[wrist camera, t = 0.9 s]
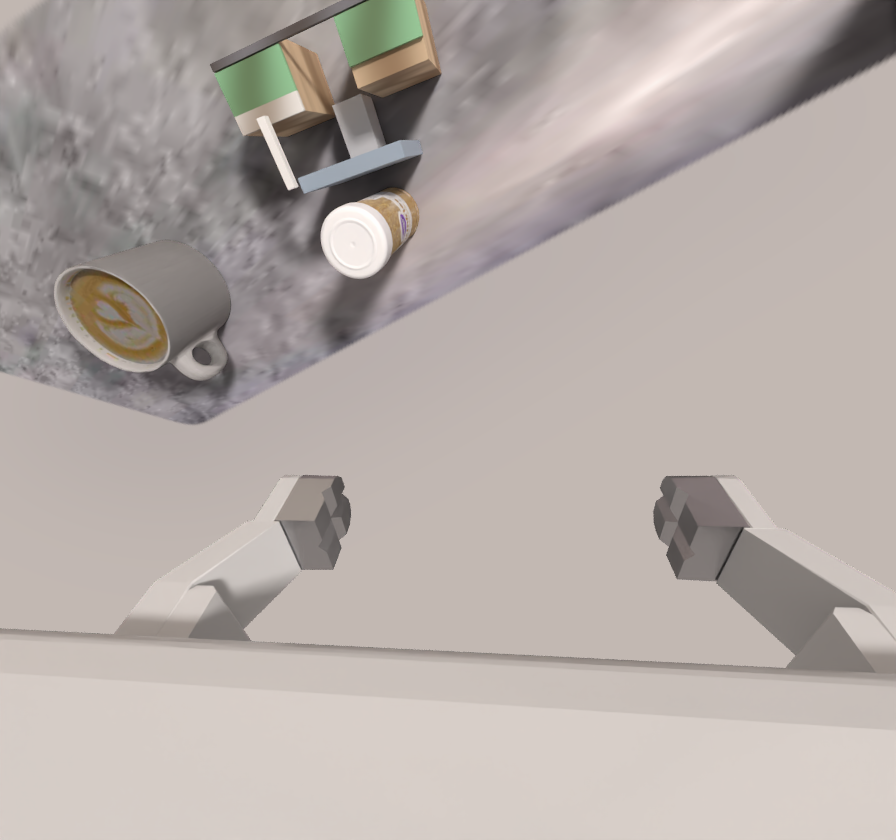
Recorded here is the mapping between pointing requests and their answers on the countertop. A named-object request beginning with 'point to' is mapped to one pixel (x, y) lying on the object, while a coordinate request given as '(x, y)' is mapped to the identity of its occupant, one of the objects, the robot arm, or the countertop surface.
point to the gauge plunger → (360, 141)
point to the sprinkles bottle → (368, 232)
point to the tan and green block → (300, 73)
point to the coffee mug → (147, 308)
